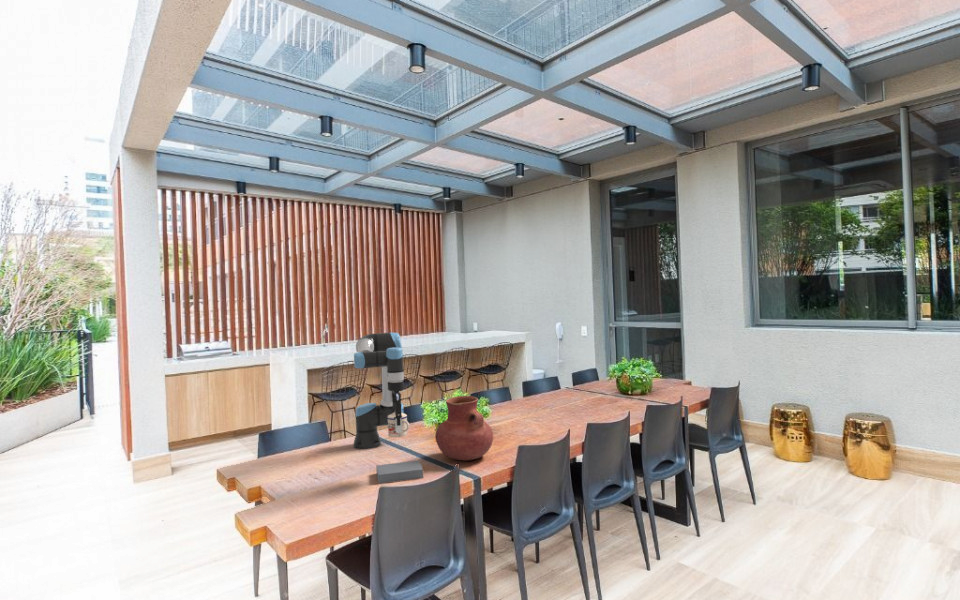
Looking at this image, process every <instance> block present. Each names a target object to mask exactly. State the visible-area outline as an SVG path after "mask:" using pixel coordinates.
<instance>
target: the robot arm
mask: <svg viewBox="0 0 960 600" xmlns="http://www.w3.org/2000/svg"><path fill="white" fill-rule="evenodd" d="M355 350H356V351H355V353H354V354H353V364H354V368H355V369H370V368H372V369H373V368H381V384H382V385H381V388H382V400H381V401H380V402H379V404H378V405H377V403H376V402H369V403H365V404H361V405H359V406H357V407H356V408H355V416H354V417H355V429H356V431H355V433H356V434H355V436H354V440H353V448H354V449H356V450H371V449H375V448H378V447H380V446H381V444H382V439H381V437H380V434H379V432H378V427H382V426H383V427H384V426H388V419H387V417H388V415H390V414H392V413H394V412H395V416H396V417H394V419H395V427H396V433H400V432H402V422H401V417H402V414H401V412H402V413H404V404H403V402H402V400H401V399H402V398H401V397H402V394H401V392H400V391H402V390H404V389H405V381H404V379H405V372H404V354H403V353H404V352H403V348H402V342H401V337H400V333H399V332H390V331H389V332H380V333H369V334H366V335H364V336H362V337H360V338H359V339H358V340H357V341H356V343H355Z"/></svg>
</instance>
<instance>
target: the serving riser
mask: <svg viewBox="0 0 960 600" xmlns="http://www.w3.org/2000/svg"><path fill="white" fill-rule="evenodd" d="M375 470H376V476H377V483H378V484H380V485H381V484H385V483H393V482H402V481H407V480H408V481H409V480H417V479H423V478H424V469H423V466H422V464H421V463H420V460H419V459H418V460H411V461H410V460H409V461H401V462H394V463H393V462H392V463H385V464H379V465H376V469H375Z"/></svg>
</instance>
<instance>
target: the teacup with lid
mask: <svg viewBox="0 0 960 600" xmlns="http://www.w3.org/2000/svg"><path fill="white" fill-rule="evenodd" d="M401 414H402V417H401V422H402V432H400V433H396V427H395V419H394V417H396V416H395V412H394V413H392V414H390V415H388V417H387V419H388V425H387V432H388V435H387V436H388V437H390V438H402V437H406V436H408V431H409V429H410V423H409V421H408V415H407V414H406V413H404V412H403V413H402V412H401Z"/></svg>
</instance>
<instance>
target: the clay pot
mask: <svg viewBox="0 0 960 600" xmlns="http://www.w3.org/2000/svg"><path fill="white" fill-rule="evenodd" d="M478 401H479V398H478V397H475V396H473V395H459V396H453V397H449V398H447V399H446V400H445V403H446V407H447V418H446V420H444V421H443V422H441V423H440V424H439V425H438V426H437V428H436V431H435V441H436V443H437V444H436V445H437V446H438V449H439V450H440V452H441V453H442V454H444V456H446V457H448V458H450V459H453V460H457V461H472V460H473V461H474V460H477V459H479V458H481V457H483V456H485V455H486V454H487V453H488V451H489V450H490V449H491V447H492V445H493V441H494V432H493V430H492V427H491V426H490V424H489V423H487V422H486V421H485V419H484V415H483V414H482V413H481V412H480V411H478Z"/></svg>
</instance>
